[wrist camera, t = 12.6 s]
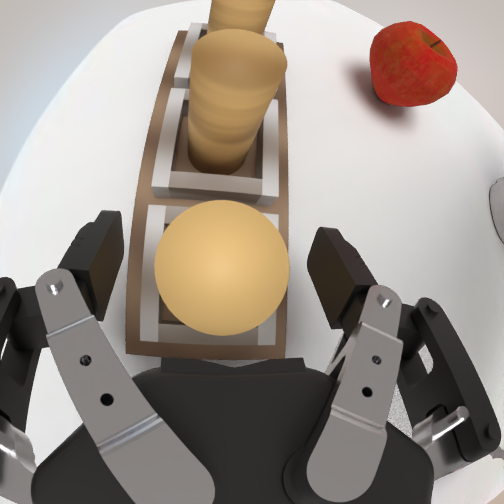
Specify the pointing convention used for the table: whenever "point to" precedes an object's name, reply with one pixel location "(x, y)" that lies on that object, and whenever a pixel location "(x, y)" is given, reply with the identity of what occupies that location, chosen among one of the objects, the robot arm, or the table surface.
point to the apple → (411, 65)
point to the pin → (222, 267)
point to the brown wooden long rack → (211, 168)
